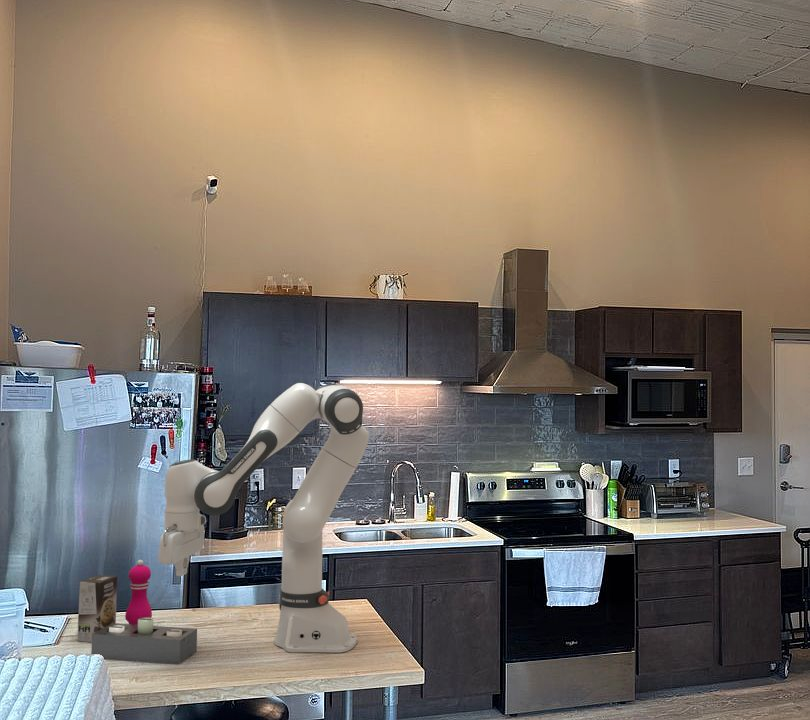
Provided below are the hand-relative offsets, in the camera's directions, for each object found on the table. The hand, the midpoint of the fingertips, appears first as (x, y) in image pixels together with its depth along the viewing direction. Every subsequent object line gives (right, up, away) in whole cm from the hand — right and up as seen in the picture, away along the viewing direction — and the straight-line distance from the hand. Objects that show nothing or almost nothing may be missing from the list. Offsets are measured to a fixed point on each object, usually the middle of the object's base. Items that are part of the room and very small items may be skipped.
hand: (181, 575), depth 208 cm
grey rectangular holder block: (-9, -20, -3) cm, 22 cm away
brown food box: (-27, -20, +11) cm, 35 cm away
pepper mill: (-17, -21, +18) cm, 32 cm away
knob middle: (-9, -15, -3) cm, 18 cm away
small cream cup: (-17, -18, -2) cm, 24 cm away
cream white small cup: (-1, -18, -4) cm, 18 cm away
